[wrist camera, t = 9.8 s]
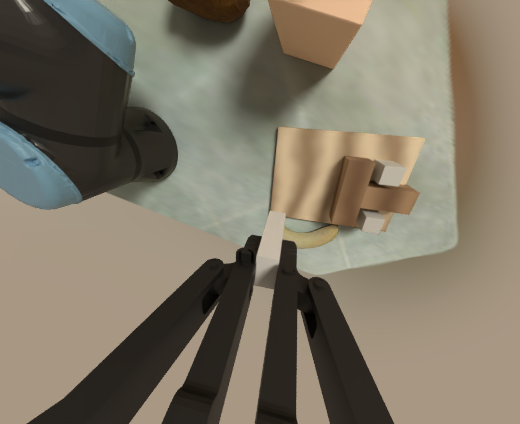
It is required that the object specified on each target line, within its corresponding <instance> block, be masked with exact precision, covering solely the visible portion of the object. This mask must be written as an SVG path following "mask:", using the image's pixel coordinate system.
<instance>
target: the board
mask: <svg viewBox="0 0 520 424" xmlns="http://www.w3.org/2000/svg"><path fill="white" fill-rule="evenodd" d="M425 139H426V138H418V137H405V136H392V135H379V134H366V133H353V132H340V131H327V130H315V129H302V128H289V127H279V128H278V139H277V149H276V159H275V169H274V180H273V190H272V200H271V211H276V212H282V213H286V215H285V217H289V218H296V219H303V220H309V221H316V222H323V223H330V224H332V223H331V220H330V216H329V213H330V209H331V205H332V201H333V198H334V194H335V190H336V186H337V182H338V179H339V175H340V171H341V167H342V163H343V160H344V156H352V157H362V158H369V159H370V160H372V161H374V159H376V160H386V161H394V162H396V163H398V164H400V165H402V166H404V167H406V171H405V173H404V175H403V178H402V180H401V183H400V184H401V185H406V183H407V180H408V178H409V176H410V174H411V171H412V169H413V167H414V164H415V162H416V160H417V157H418V155H419V153H420V150H421V148H422V146H423V144H424V141H425ZM370 181H374V180H373V179H372V178H370ZM378 211H379V210H378ZM379 213H380V214H381V215H382V216H383V218H384V219H385V221H384V223H383V226H382V228H381V231H384V232H385V231H386V229H387V227H388V224H389V222H390V220H391V217H392V215H393V212H386V211H379ZM336 225H337V224H336ZM354 227H357V228H359V226H358V224H357V222H355V225H354Z"/></svg>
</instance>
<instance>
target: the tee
mask: <svg viewBox="0 0 520 424" xmlns="http://www.w3.org/2000/svg"><path fill="white" fill-rule="evenodd" d="M374 166H375V162H374V161H372V160H370V159H369V158H362V157H352V156H344V160H343V163H342V167H341V171H340V175H339V179H338V182H337V186H336V190H335V194H334V198H333V201H332V205H331V209H330V213H329V216H330V220H331V223H332V224H337V225H343V226H350V227H354V225H355V222H356V219H357V216H358V213H359V210H360V208H364V209H371V210H379V211H386V212H393V213H401V214H408V215H409V214H410V212H411V210H412V208H413V206H414V204H415V202H416V200H417V198H418V196H419V194H420V193H419V192H418V191H416V190H414V189H413V188H411V187H410V186H408V185H401V184H400V185H399V187H398V186H389V185H380V184H378V183H377V182H375V181H370V178H371V175H372V172H373V169H374Z"/></svg>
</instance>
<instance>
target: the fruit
mask: <svg viewBox="0 0 520 424" xmlns="http://www.w3.org/2000/svg"><path fill="white" fill-rule="evenodd" d="M338 230H339V228H338V225H331V226H327V227H323V228H321V229H318V230H316V231H313V232H308V233H296V232H293V231H290V230H289V229H287V228H285V227H284V230H283V238H282V239H283V240H289V241H294V242H295V244H296V245H297V248H301V249H305V248H314V247H318V246H321V245H323V244H326V243H328V242H330V241H332V240H333V239H334V238H335V237H336V235H337V232H338Z"/></svg>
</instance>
